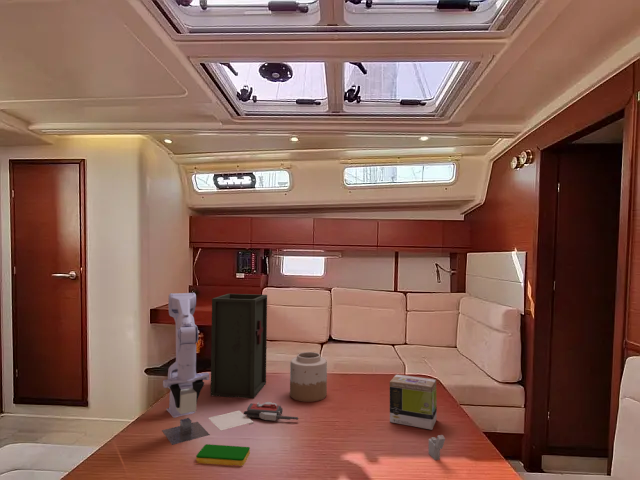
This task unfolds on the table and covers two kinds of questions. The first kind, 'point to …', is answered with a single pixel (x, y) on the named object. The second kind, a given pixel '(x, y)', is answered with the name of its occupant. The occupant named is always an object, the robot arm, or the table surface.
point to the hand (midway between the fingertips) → (186, 405)
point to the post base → (185, 432)
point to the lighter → (436, 446)
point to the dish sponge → (223, 455)
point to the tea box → (413, 401)
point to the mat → (230, 420)
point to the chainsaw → (266, 411)
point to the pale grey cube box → (187, 401)
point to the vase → (308, 377)
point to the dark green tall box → (238, 345)
